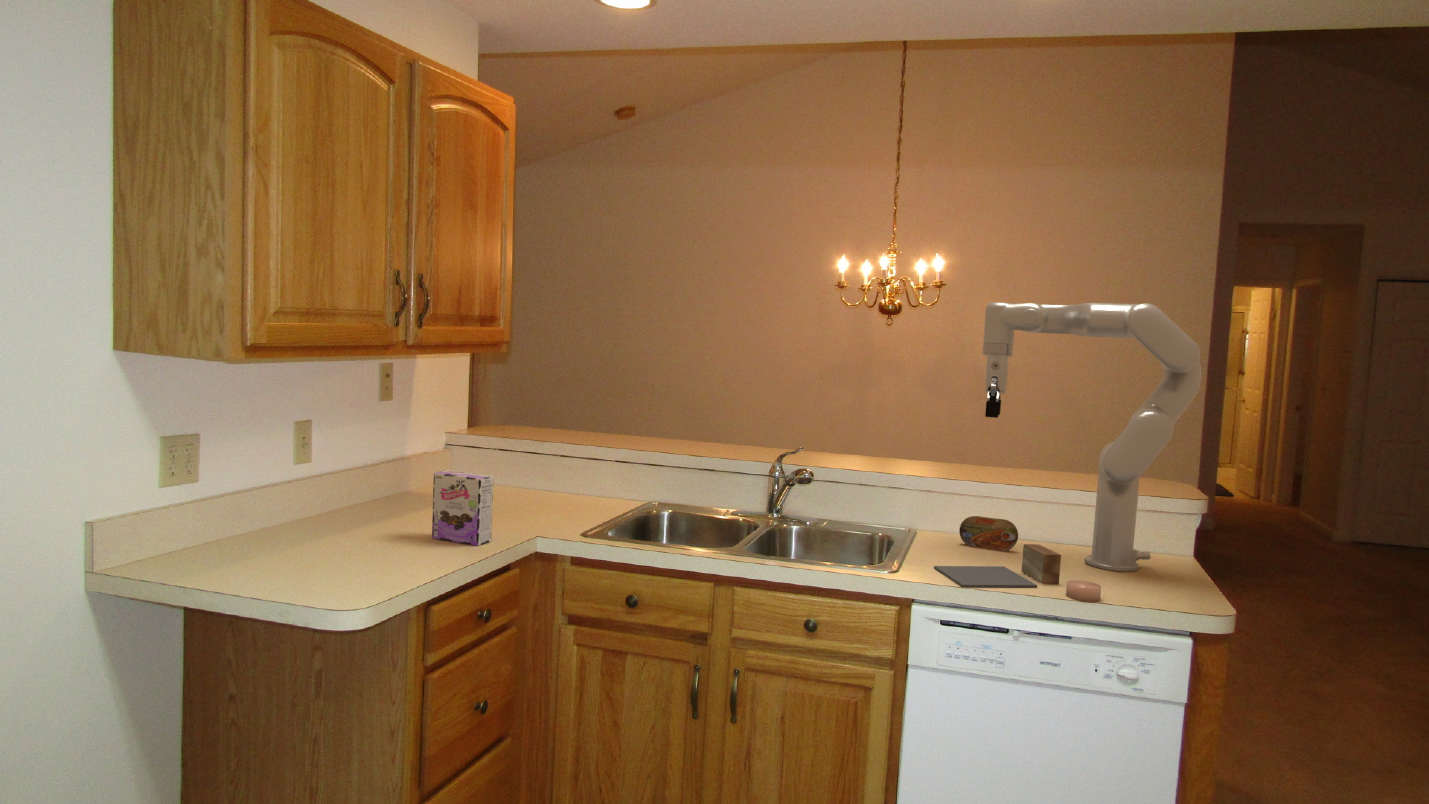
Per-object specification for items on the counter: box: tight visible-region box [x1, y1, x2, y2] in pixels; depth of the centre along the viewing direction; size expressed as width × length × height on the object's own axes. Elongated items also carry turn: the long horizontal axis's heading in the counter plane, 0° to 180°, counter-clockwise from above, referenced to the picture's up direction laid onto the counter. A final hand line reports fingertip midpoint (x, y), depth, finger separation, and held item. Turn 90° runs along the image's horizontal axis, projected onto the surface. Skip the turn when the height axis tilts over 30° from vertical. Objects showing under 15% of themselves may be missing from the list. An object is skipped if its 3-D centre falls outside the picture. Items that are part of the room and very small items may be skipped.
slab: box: [1021, 543, 1062, 585], centre depth 217 cm, size 4×10×7 cm, turn 10°
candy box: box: [431, 469, 495, 547], centre depth 225 cm, size 14×6×16 cm, turn 68°
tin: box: [958, 515, 1019, 552], centre depth 246 cm, size 15×3×8 cm, turn 62°
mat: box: [933, 565, 1038, 589], centre depth 215 cm, size 18×16×1 cm
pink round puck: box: [1065, 579, 1102, 603], centre depth 203 cm, size 7×7×3 cm
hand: (992, 415), depth 242 cm, fingers open, 9 cm apart
